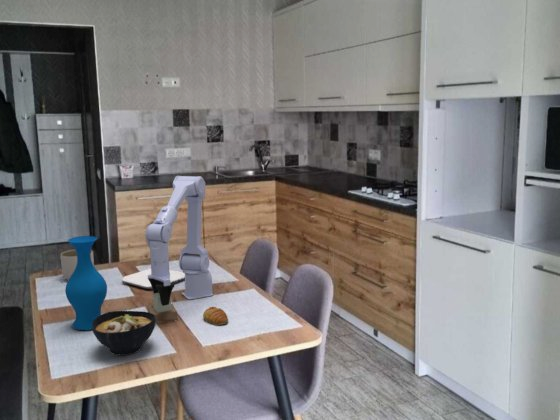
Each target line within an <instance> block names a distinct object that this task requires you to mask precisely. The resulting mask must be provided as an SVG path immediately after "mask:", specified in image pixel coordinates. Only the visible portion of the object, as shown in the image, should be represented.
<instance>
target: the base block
mask: <svg viewBox="0 0 560 420" xmlns="http://www.w3.org/2000/svg"><path fill="white" fill-rule="evenodd" d="M147 312H148V313H152V314H154V315H155V319H156V322H155V323H158V324H162V323H161V322H165V323H169V322H168V321H172V322H176V321H175V320H177V321H178V311H177V309H176V307H175V306H174V304H173V303H171V310H169V311H164V312H159V313H158V312H157V311H156V310H155V309H154V307H153V305H152V306H147Z"/></svg>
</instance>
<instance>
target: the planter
mask: <svg viewBox="0 0 560 420" xmlns="http://www.w3.org/2000/svg"><path fill="white" fill-rule="evenodd" d="M59 258H60V264H61V265H60V266H61V273H62V275H63V277H64V279H66V280H67V281H68V280H69V278H70V277H71V275H72V274H73V272H74V270H75V268H76V265H77V252H76V250H75V248H74V249H69V250H66V251H62V252H61V253H60V257H59ZM91 261H92V264H93V266H94V267H95V261H94V250H92V249H91Z"/></svg>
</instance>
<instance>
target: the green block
mask: <svg viewBox="0 0 560 420" xmlns="http://www.w3.org/2000/svg"><path fill="white" fill-rule="evenodd" d="M152 303H153V305H152V306H153V307H154V309H155V310H156V311H157V312H158V313H159V312H164V311H169V310H171V304H172V295H171V296H170V301H169V305H164V306H162V304H161V300H160V295H159V293H154V292H153V293H152Z"/></svg>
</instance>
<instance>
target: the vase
mask: <svg viewBox="0 0 560 420" xmlns="http://www.w3.org/2000/svg"><path fill="white" fill-rule="evenodd" d="M97 240H98V237H97V236H92V235H83V236H74V237H71V238H68V239H67V242H68V243H69V244H71V246H72V247H73V248H74V249H75V250H76V252H77V265H76V268H75V270H74V272H73V274H72V275H71V277H70V278H69V280H67V282H66V285H65V291H64V292H65V295H66V298H67V301H68V303H69V304H70V305H71V306H72V309H73V310H74V313H75V320H73V323H72V328H73V329H75V330H79V331H91V330H92V331H93V329H92V323H93V320H94V319H95V318H96V317H98V316H100V315H102V312H101V311H102V306H103V304H104V302H105V299H106V298H107V292H108V284H107V282H106V280H105V278H104V276H102V274H101V273H100V272H99V271H98V270H97V269H96V268H95V265H94V266H93V264H92V261H91V250H92V248H93V245H94V244H95V242H96V241H97Z"/></svg>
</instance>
